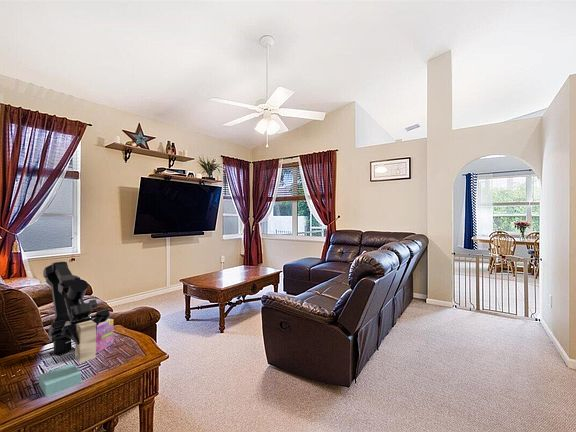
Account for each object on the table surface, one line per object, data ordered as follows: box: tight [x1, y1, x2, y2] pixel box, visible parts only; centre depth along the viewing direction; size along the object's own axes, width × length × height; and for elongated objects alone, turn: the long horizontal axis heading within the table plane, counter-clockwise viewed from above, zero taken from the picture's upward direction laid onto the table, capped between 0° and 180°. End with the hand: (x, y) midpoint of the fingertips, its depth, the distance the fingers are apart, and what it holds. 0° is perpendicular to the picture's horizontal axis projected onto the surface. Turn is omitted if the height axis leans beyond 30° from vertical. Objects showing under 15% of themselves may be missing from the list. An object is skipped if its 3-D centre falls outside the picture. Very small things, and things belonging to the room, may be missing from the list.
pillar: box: [74, 320, 97, 364], centre depth 110 cm, size 5×5×13 cm
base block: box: [38, 363, 82, 397], centre depth 105 cm, size 10×10×4 cm
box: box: [96, 318, 114, 354], centre depth 132 cm, size 10×6×12 cm, turn 168°
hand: (87, 341), depth 109 cm, fingers closed on pillar, 5 cm apart
